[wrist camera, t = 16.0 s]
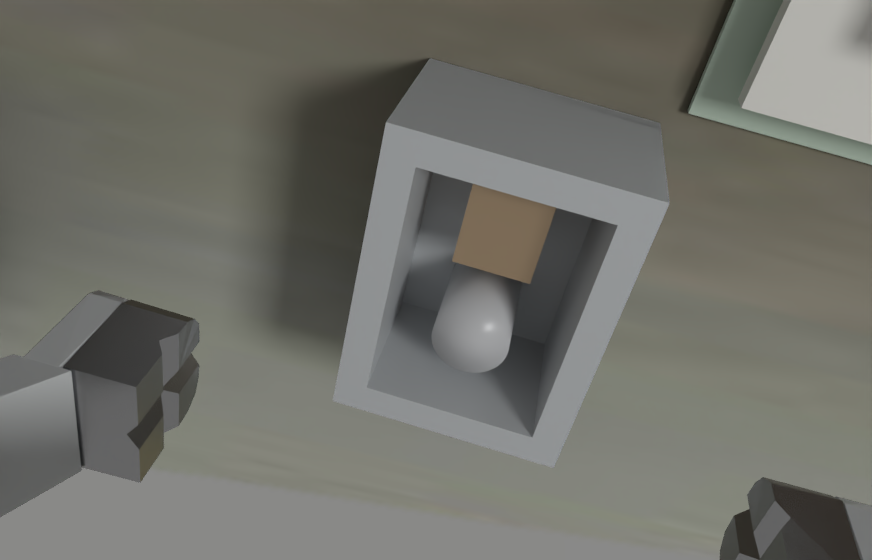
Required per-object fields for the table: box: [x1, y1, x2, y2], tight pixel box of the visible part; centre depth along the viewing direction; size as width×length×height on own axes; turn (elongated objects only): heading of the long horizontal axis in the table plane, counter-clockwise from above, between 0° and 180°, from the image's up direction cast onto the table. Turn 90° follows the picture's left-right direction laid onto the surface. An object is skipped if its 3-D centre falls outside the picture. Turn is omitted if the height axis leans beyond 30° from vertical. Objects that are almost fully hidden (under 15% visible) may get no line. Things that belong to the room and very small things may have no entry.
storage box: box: [333, 58, 670, 468], centre depth 40 cm, size 16×12×9 cm
